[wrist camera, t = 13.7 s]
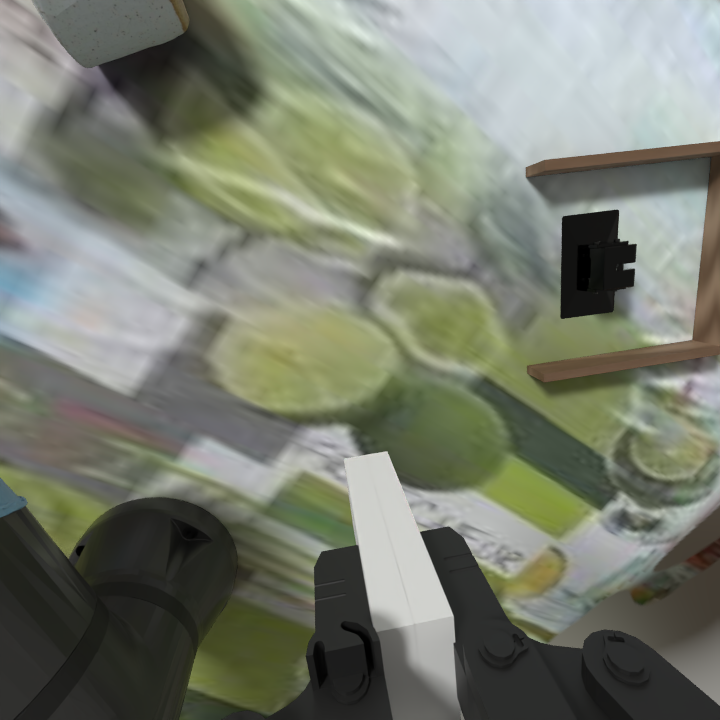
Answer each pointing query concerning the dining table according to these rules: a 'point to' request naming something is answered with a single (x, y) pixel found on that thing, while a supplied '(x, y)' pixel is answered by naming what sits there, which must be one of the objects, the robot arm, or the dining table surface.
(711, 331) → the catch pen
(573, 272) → the black wall mount bracket
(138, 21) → the ceramic mug
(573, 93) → the dining table surface
